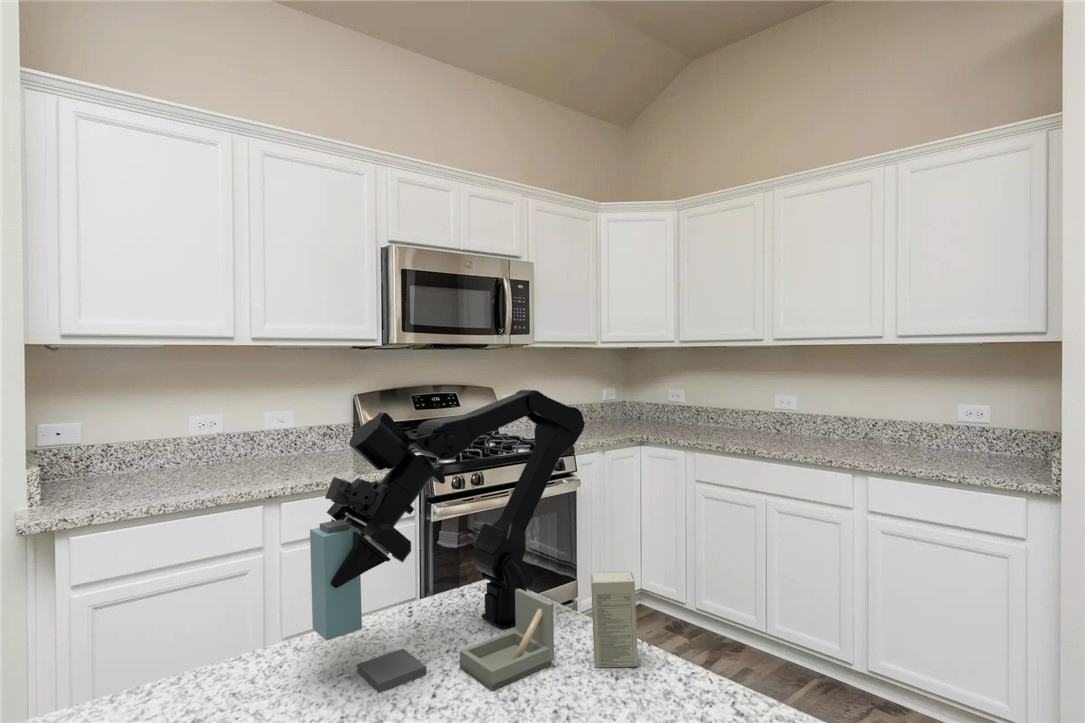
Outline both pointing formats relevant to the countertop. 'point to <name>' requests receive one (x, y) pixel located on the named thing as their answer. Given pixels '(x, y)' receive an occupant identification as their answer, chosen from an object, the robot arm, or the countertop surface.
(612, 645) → the skincare box
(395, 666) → the foam pad
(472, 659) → the case
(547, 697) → the countertop surface
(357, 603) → the module
